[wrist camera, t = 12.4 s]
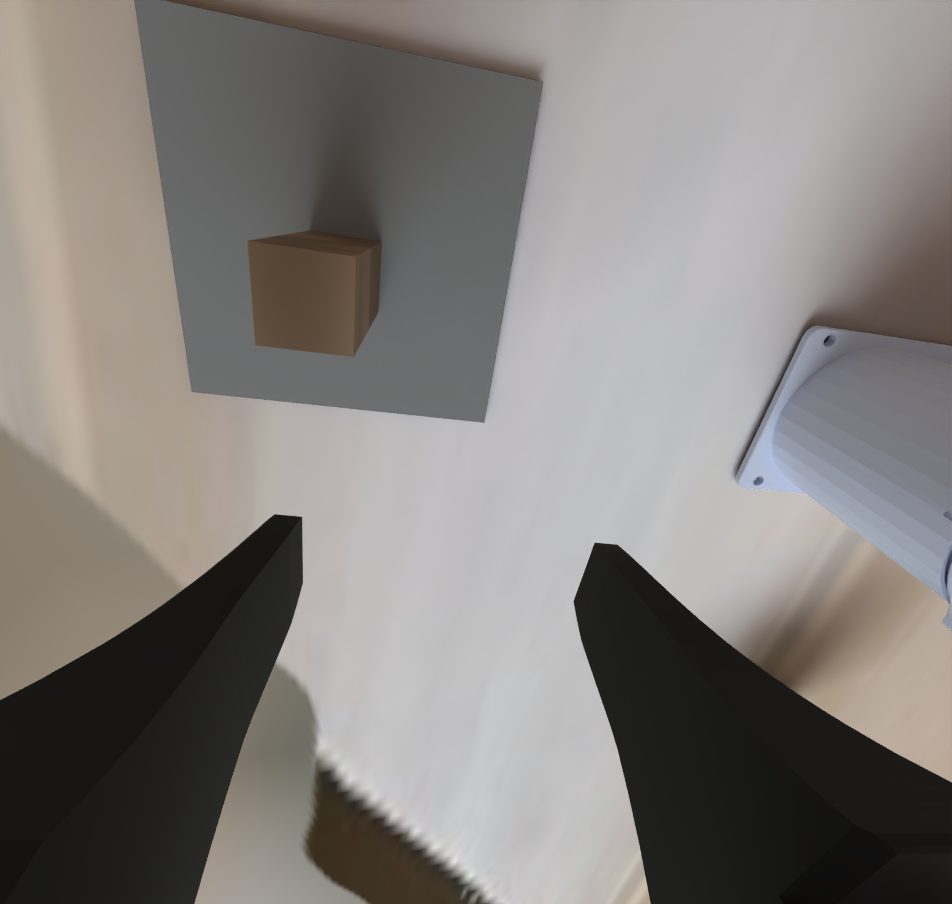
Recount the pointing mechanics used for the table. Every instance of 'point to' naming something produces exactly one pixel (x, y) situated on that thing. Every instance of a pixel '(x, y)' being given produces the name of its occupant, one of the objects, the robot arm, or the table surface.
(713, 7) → the table surface
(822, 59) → the table surface
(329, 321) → the stick
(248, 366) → the mat
